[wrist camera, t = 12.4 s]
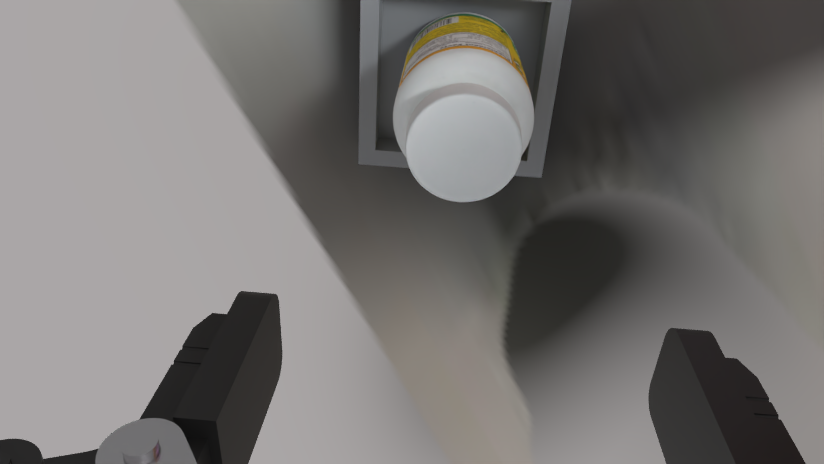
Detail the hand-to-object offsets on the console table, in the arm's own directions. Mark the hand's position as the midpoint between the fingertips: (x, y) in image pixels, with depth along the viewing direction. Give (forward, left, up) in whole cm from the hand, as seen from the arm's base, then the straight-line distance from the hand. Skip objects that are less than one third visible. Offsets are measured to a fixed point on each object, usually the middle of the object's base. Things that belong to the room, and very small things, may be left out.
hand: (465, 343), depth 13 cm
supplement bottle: (0, 0, -20) cm, 20 cm away
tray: (0, 0, -20) cm, 20 cm away
